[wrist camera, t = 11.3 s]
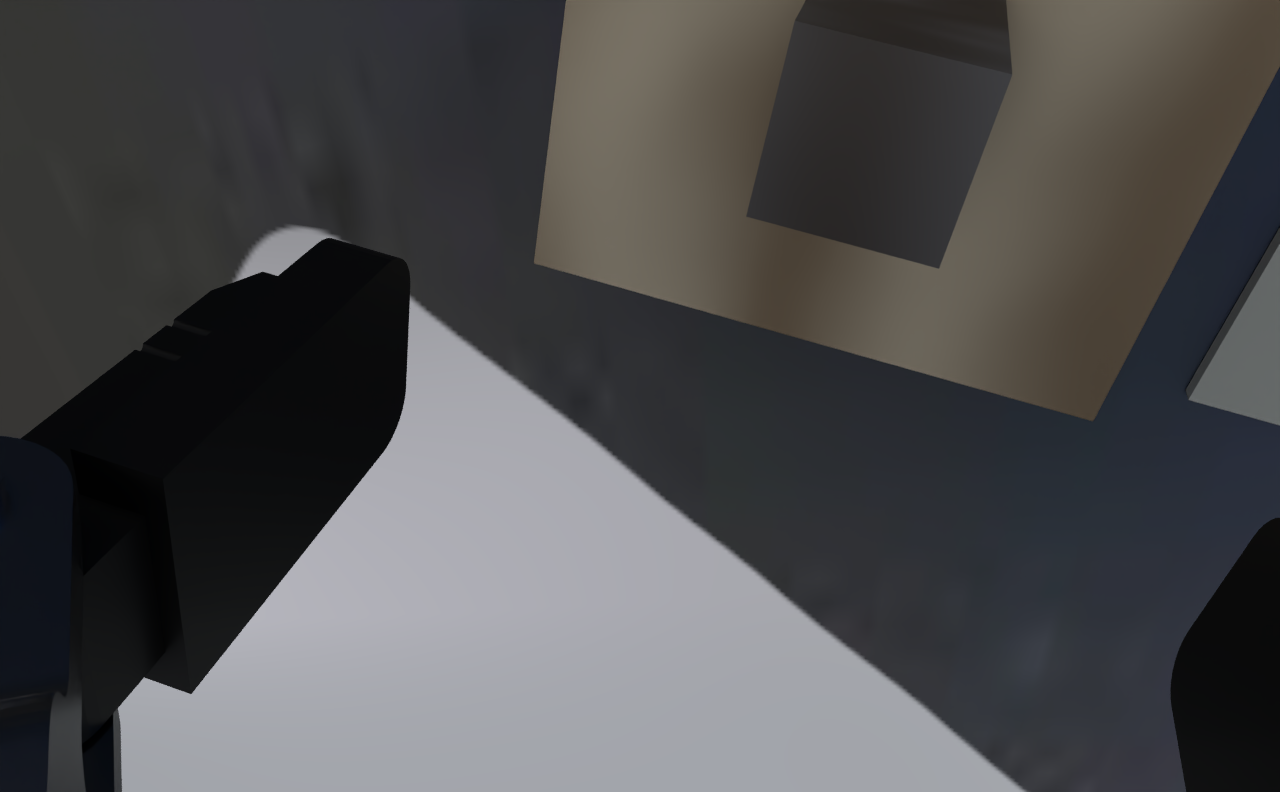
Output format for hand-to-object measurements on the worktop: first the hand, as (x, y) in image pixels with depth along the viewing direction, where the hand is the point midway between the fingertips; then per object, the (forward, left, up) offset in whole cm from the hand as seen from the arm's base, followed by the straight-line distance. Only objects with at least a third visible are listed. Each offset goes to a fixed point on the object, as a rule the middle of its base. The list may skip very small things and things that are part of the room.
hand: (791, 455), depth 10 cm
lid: (0, 0, -14) cm, 14 cm away
